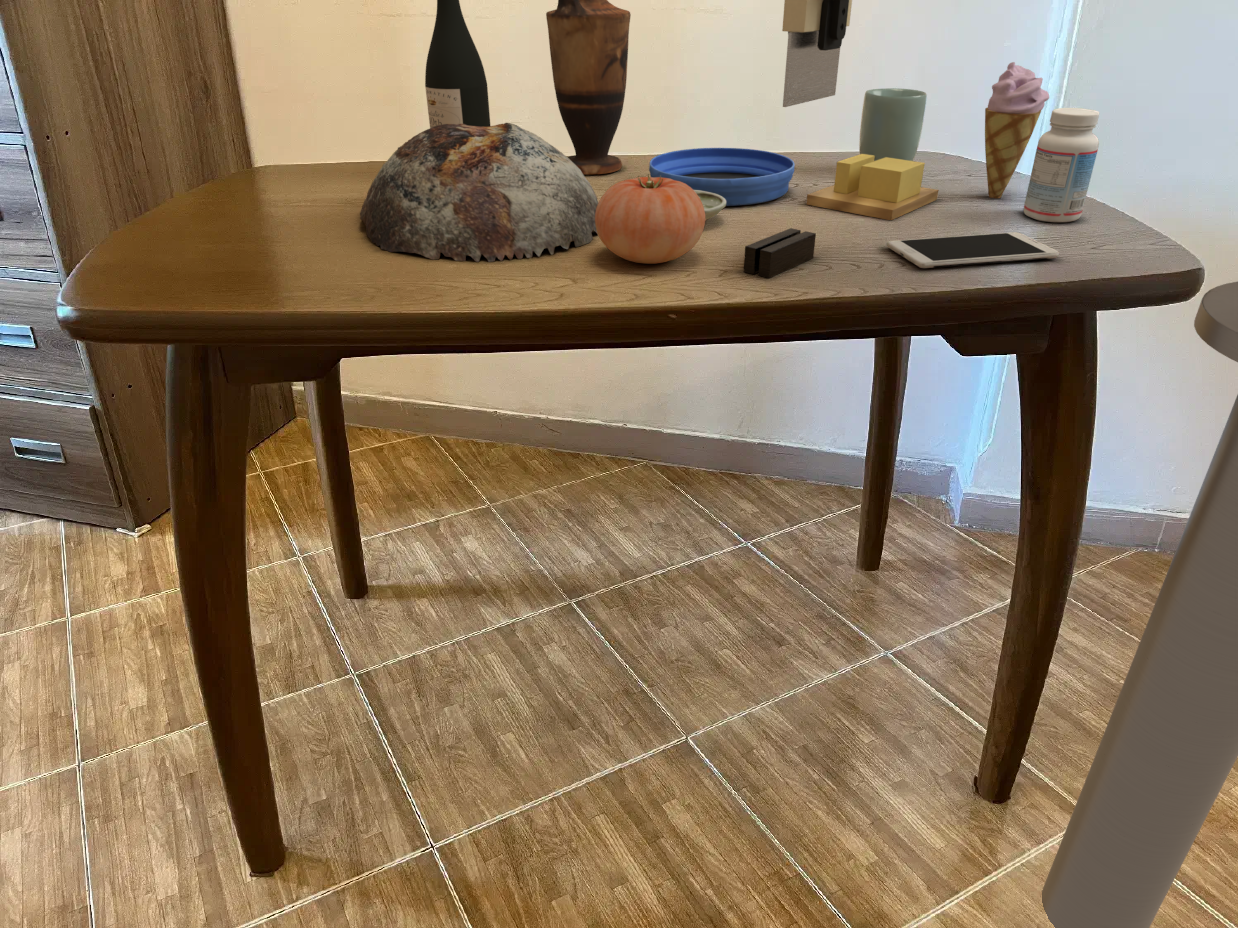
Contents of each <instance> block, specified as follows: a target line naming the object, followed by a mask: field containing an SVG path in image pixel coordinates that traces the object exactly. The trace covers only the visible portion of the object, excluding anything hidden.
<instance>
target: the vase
mask: <svg viewBox="0 0 1238 928" xmlns="http://www.w3.org/2000/svg"><path fill="white" fill-rule="evenodd" d="M631 14H632V13H631V11H629V10H627V9H624V8H620V7H617V6H616V5H614V4H613V3H611V2H610V1H609V0H557V6H556V9H553V10H549V11H546V12H545V19H546V24H547V34H548V43H549V53H550V55H549V56H550V62H551V72H552V80H553V87H554V91H555V97H556V98H555V99H556V102H557V106H558V110H559V114H560V116H561V120H562V121H563V124H564V127H565V129H566V131H567V133H568V137H569V139H570V140H571V143H572V145H573V149H574V152H575V155H570V156H567V157H568V158H569V159H570V160H571V161H572V162H573V163H574V164H575V165H576V166H577V167H578V168H579V169H580V170H581V172H582V173H583V175H584V176H585V175H586V176H587V175H604V174H605V175H606V174H611V173H615V172H618V171H619V170H622V167H623V164H622V160H621V158H620V157H617V156H615V155H611V154H609V151H610V149H611V146H612V143H613V139H614V137H615V135H616V132H617V130H618V127H619V123H620V121H621V118H622V114H623V111H624V102H625V96H626V89H627V79H628V78H627V76H628V56H629V40H630V39H629V34H630V23H631Z"/></svg>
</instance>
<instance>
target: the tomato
mask: <svg viewBox="0 0 1238 928" xmlns="http://www.w3.org/2000/svg"><path fill="white" fill-rule="evenodd" d="M595 225H596V230H597V233H598V234H597V233H596V234H597V236H598V238H599V239H600V241H601V243H602V244H603V245H604V246H605V248H607V249H608V250H609V251H610V252H612V254H614V255H616V256H617V257H619V258H621V259H624V260H626V261H629V262H631V263H636V264H643V265H644V264H645V265H646V264H647V265H648V264H649V265H653V264H655V265H656V264H662V263H667V262H671V261H673V260H676V259H679V258H680V257H682V256H683V255H685V254H687V253H688V252H690V251H691V250H692V249H693V248H694V247H695V246H696V244H697V243H698V242H699V240H700V239H701V236H702V235H703V232H704V230H705V229H704V228H705V225H706V220H705V211H704V207H703V204H702V202H701V200H700V198H699V196H698V195H697V194H696V192H695V191H694V190H693V189H692V188H691V187H689V186H688V185H687V184H685V183H683V182H680V181H676V180H673V179H669V178H663V177H661V175H660V177H651V176H650V173H648V174H647V176H639V175H637V177H634V178H628V179H624V180H621V181H618V182H616V183H614V184H613V185H611V186H610V187H609V188H608V189H607V190H606V191H605V192H604V193H603V195H602V196H601V198H600V199H599V200H598V205H597V208H596V213H595Z"/></svg>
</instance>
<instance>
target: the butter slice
mask: <svg viewBox="0 0 1238 928" xmlns="http://www.w3.org/2000/svg"><path fill="white" fill-rule="evenodd" d="M874 157H875V156H874V155H867V154H860V153H859V154H857V155H854V156H851V157H848V158H845V159H842V160H841V159H840V160H838V161H837V162H836V167H835V176H834V183H833V185H834V192H837V193H843V194H848V193H851V192H853V191H856V190H858V189H859V182H860V174H861V166H862V165H865V164H868V163H871V162H874Z"/></svg>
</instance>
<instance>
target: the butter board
mask: <svg viewBox="0 0 1238 928" xmlns="http://www.w3.org/2000/svg"><path fill="white" fill-rule="evenodd" d="M938 196H939V189H935V188H931V187H930V188H929V187H923V186H921V189H920V193H919V194H916V195H914V196H912V197H909V198H907V199H905V200H902V201H900V202H898V203H894V202H888V201H883V200H877V199H871V198H866V197H860V196H858V190H856V191H853V192H851V193H848V194H843V193H837V192H834V184H832V185H830V186H827V187H824V188H822V189H821V188H820V189H818V190H816V191H813V192H810V193H807V194H806V202H805V203H806V205H807V206H812V207H818V208H824V209H827V210H833V211H839V212H844V213H849V214H850V213H851V214H855V215H861V216H866V217H871V218H876V219H882V220H887V221H893V220H895V219H898V218H899V217H902V216H904V215H907V214H909V213H911V212H913V211H915V210H917V209H919V208H922V207H924V206H927V205H929V204H931V203H933V202H935V201H938Z"/></svg>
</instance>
